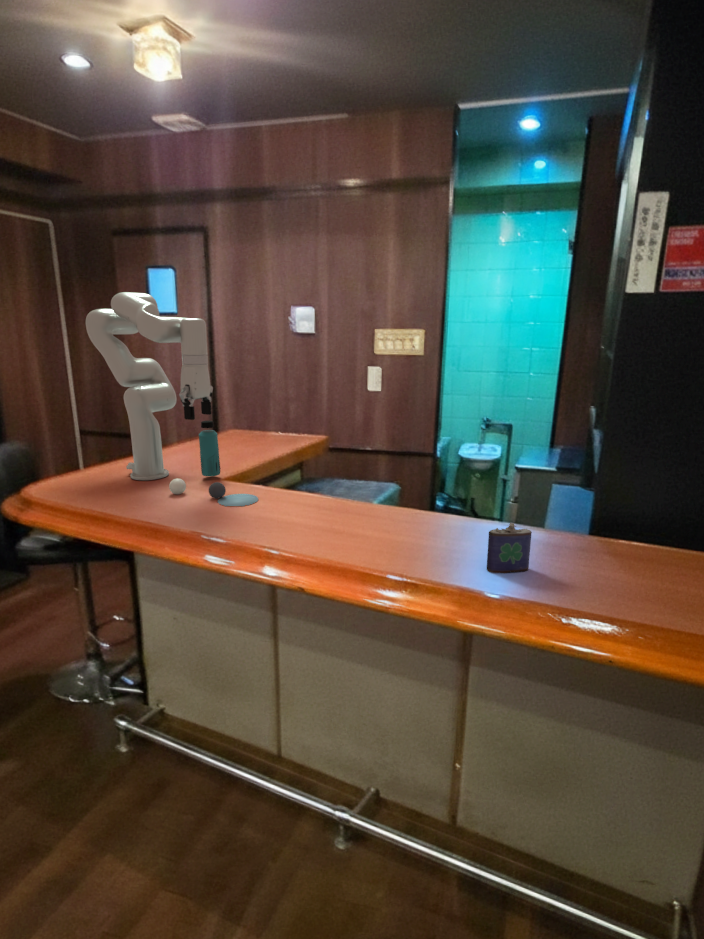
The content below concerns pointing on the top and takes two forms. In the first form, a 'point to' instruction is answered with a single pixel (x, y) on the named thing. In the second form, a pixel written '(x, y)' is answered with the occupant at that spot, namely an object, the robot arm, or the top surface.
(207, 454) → the beverage bottle
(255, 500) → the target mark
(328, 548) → the top surface
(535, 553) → the top surface
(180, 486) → the cue ball
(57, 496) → the top surface
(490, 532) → the flask
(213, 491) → the object ball
